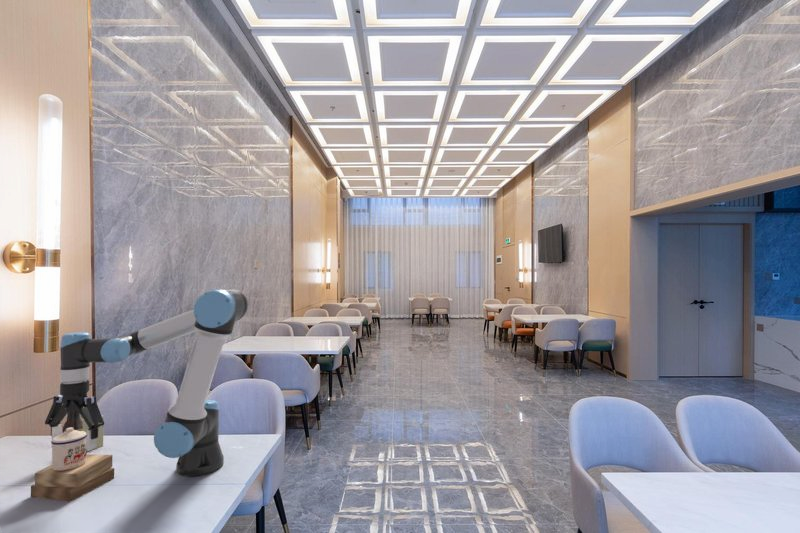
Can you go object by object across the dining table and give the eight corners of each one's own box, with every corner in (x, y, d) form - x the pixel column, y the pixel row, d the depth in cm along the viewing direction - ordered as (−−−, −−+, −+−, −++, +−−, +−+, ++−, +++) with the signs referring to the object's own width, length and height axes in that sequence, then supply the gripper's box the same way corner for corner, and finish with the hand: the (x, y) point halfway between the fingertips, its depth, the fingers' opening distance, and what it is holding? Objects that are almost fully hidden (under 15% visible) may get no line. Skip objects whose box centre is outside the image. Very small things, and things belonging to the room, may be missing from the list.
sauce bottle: (64, 467, 150) (65, 410, 150) (57, 463, 153) (58, 408, 154) (85, 460, 155) (86, 405, 156) (78, 456, 159) (79, 403, 159)
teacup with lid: (65, 473, 128) (64, 434, 129) (43, 470, 131) (43, 432, 131) (102, 456, 140) (102, 421, 140) (82, 454, 143) (82, 419, 143)
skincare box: (87, 451, 163) (88, 420, 163) (79, 450, 165) (80, 419, 165) (103, 445, 169) (104, 415, 169) (96, 444, 170) (96, 414, 171)
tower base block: (114, 480, 141) (114, 468, 141) (70, 503, 126) (70, 490, 126) (77, 476, 144) (77, 464, 144) (30, 499, 129) (30, 485, 129)
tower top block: (112, 466, 142) (112, 454, 142) (78, 487, 128) (78, 473, 128) (72, 466, 143) (73, 454, 143) (34, 486, 129) (34, 473, 129)
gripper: (117, 379, 137) (117, 445, 137) (54, 377, 142) (53, 440, 141) (97, 385, 130) (96, 455, 129) (31, 382, 135) (30, 449, 134)
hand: (74, 447), depth 135 cm, fingers open, 13 cm apart
